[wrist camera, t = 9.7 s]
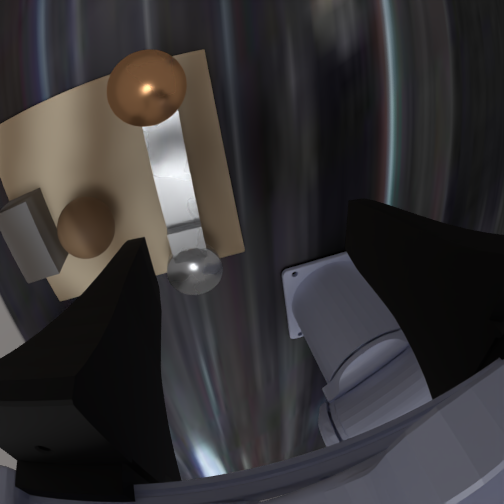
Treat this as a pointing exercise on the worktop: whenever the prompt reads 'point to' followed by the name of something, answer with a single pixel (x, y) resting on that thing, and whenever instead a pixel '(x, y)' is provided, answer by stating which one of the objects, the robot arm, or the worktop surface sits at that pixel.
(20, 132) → the beige square panel
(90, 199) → the brown ball
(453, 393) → the robot arm
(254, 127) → the worktop surface
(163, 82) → the lever
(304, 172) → the worktop surface
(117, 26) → the worktop surface
